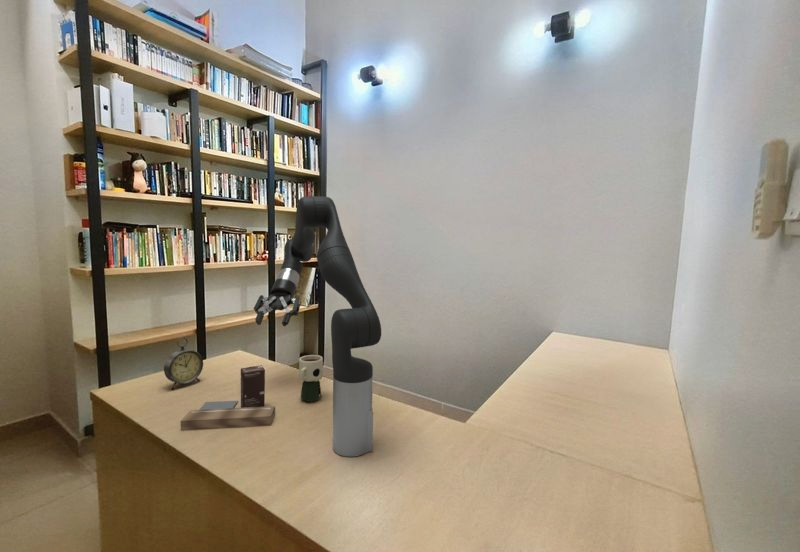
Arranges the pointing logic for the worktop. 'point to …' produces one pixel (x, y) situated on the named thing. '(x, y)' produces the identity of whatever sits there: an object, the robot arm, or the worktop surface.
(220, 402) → the grey mat
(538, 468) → the worktop surface
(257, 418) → the walnut board
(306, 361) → the character mug
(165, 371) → the alarm clock
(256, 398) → the box
